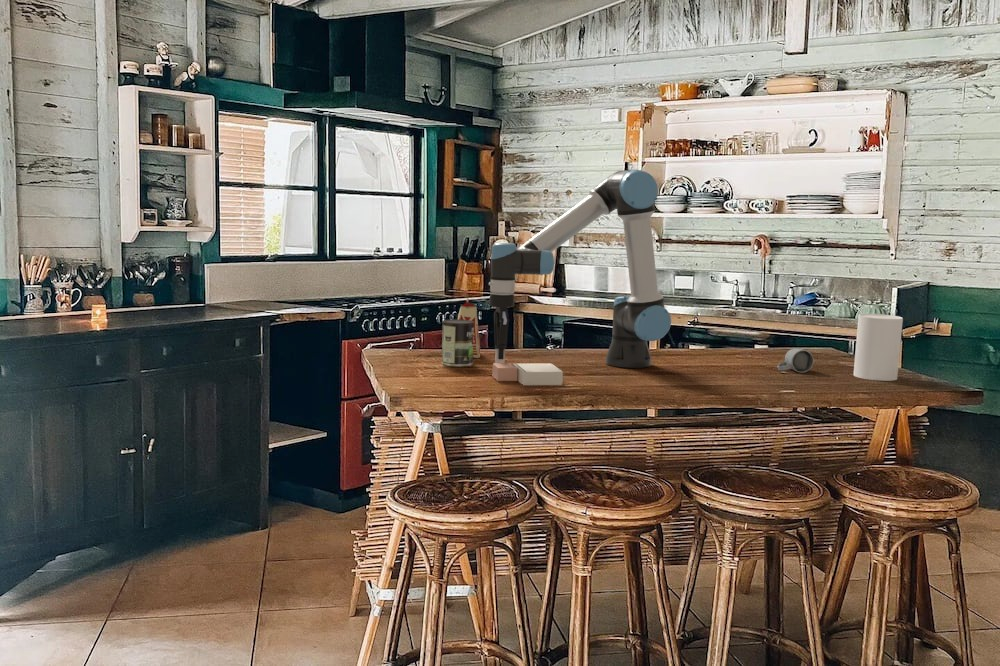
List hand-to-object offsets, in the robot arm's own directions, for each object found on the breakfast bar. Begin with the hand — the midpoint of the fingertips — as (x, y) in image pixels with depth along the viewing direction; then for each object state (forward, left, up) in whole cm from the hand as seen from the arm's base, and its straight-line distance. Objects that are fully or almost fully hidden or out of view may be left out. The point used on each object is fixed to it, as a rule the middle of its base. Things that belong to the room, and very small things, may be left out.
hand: (499, 368), depth 305 cm
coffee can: (+10, -19, -2) cm, 21 cm away
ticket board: (-10, +10, -2) cm, 14 cm away
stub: (0, +7, -2) cm, 8 cm away
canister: (-125, +7, -2) cm, 125 cm away
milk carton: (+4, -36, -2) cm, 36 cm away
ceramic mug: (-102, -4, -2) cm, 102 cm away
